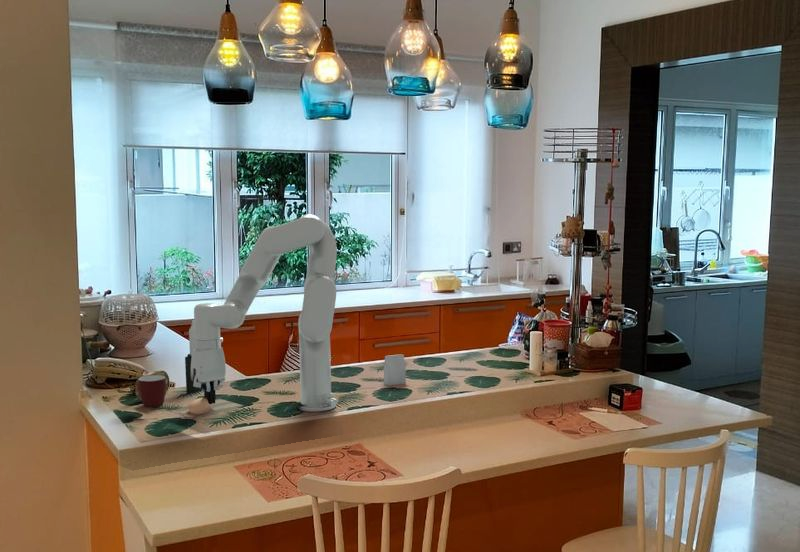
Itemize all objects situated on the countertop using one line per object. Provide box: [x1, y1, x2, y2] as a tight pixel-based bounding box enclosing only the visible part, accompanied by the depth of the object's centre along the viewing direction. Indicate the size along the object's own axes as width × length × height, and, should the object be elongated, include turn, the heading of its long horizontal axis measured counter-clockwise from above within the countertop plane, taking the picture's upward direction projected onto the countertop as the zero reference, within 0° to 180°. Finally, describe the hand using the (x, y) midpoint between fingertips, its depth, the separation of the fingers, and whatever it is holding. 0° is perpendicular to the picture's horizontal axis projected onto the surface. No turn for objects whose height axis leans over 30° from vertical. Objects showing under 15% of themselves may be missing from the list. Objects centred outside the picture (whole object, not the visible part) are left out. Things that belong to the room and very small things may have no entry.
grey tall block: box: [383, 353, 407, 386], centre depth 274 cm, size 4×7×10 cm, turn 111°
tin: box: [134, 370, 170, 402], centre depth 258 cm, size 15×3×8 cm, turn 160°
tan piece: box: [170, 398, 245, 420], centre depth 240 cm, size 13×18×2 cm
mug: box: [138, 375, 166, 408], centre depth 245 cm, size 11×8×10 cm
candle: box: [184, 319, 203, 395], centre depth 262 cm, size 5×5×25 cm
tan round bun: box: [187, 397, 211, 415], centre depth 237 cm, size 6×6×3 cm
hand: (210, 402), depth 240 cm, fingers closed
